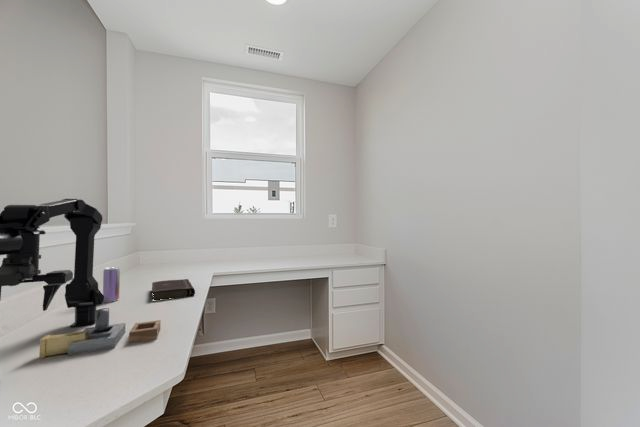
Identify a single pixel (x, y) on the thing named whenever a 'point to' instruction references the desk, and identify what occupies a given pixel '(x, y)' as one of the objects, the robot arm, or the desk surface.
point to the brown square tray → (144, 331)
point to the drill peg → (102, 320)
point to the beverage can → (111, 284)
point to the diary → (172, 289)
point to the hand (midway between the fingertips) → (21, 312)
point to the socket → (98, 340)
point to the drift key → (59, 343)
